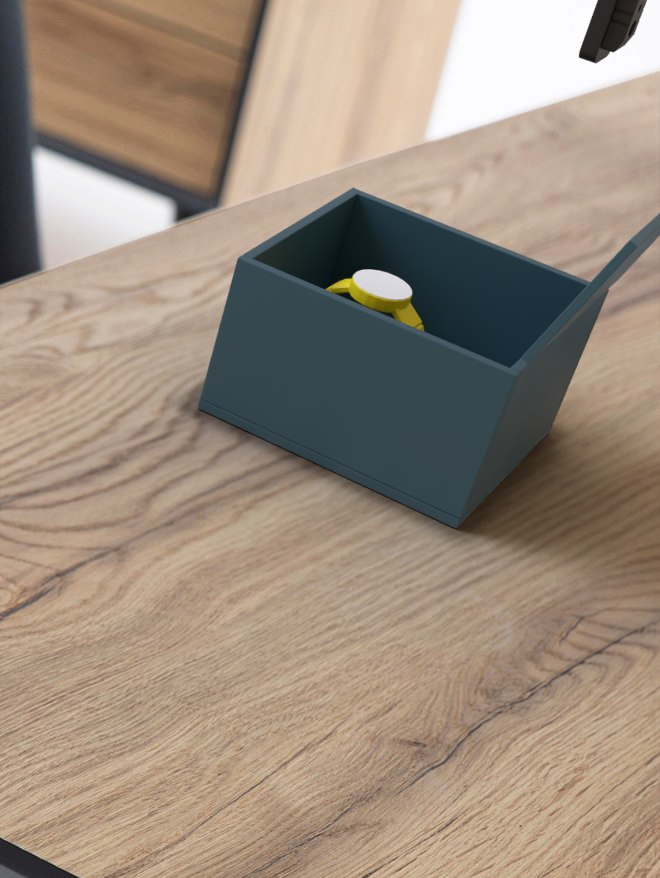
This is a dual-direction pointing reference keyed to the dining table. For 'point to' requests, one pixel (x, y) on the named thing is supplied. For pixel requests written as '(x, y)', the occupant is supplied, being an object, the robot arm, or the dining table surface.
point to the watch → (381, 294)
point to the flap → (598, 285)
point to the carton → (396, 354)
